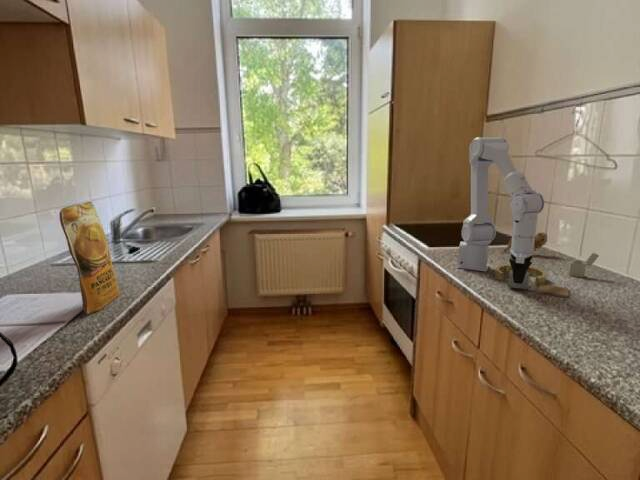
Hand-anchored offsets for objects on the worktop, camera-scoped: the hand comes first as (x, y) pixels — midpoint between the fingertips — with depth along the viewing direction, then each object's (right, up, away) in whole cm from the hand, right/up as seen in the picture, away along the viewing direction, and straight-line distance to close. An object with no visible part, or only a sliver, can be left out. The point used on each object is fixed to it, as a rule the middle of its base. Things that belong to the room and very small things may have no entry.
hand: (518, 280), depth 108 cm
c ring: (+6, 0, +11) cm, 13 cm away
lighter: (+26, 0, +10) cm, 28 cm away
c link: (0, -2, 0) cm, 2 cm away
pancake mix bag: (-120, -6, -5) cm, 120 cm away
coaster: (+9, -3, -2) cm, 10 cm away
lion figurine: (+23, +6, +37) cm, 44 cm away
